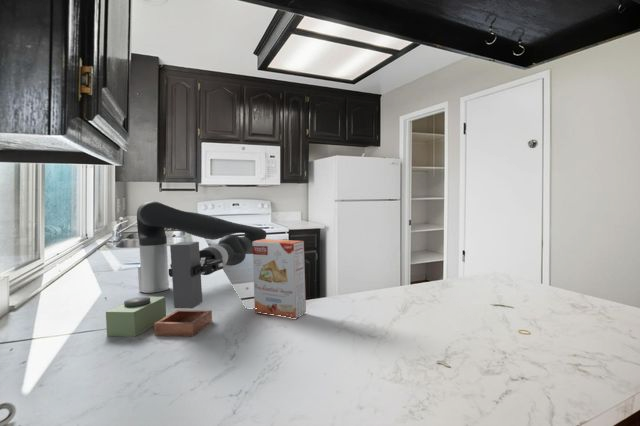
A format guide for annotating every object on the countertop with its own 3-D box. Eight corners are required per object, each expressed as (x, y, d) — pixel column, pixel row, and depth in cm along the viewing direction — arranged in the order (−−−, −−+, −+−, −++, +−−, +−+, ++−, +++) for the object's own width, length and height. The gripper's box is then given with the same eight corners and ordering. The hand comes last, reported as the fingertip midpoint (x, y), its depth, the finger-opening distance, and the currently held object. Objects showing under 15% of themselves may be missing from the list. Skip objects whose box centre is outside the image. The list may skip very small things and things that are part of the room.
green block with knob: (107, 335, 83) (105, 307, 83) (141, 317, 96) (140, 293, 95) (135, 336, 82) (133, 308, 82) (166, 317, 95) (165, 293, 94)
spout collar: (154, 335, 82) (154, 323, 82) (177, 320, 92) (176, 309, 92) (193, 336, 81) (192, 324, 81) (212, 321, 91) (211, 310, 91)
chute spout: (174, 308, 85) (170, 245, 84) (184, 301, 89) (180, 242, 89) (193, 308, 84) (189, 244, 83) (202, 301, 89) (198, 241, 88)
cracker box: (253, 313, 96) (251, 240, 95) (266, 307, 101) (264, 238, 101) (295, 320, 90) (293, 242, 89) (306, 313, 95) (304, 239, 94)
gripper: (234, 271, 100) (209, 287, 83) (189, 272, 101) (154, 287, 85) (233, 246, 99) (207, 257, 82) (187, 247, 101) (152, 258, 84)
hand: (181, 272), depth 84 cm, fingers closed on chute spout, 5 cm apart
